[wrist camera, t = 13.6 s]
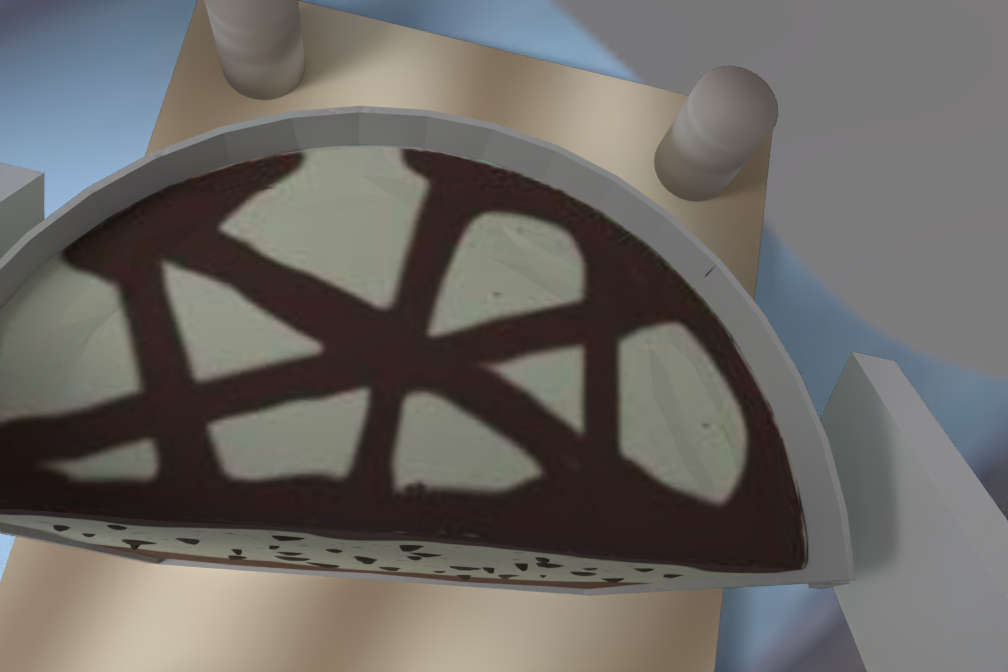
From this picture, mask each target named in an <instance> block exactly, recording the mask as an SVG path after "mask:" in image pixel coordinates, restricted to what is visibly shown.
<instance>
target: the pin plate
mask: <svg viewBox="0 0 1008 672" xmlns="http://www.w3.org/2000/svg"><path fill="white" fill-rule="evenodd" d="M350 106H372V107H389V108H406V109H423V110H431V111H436V112H441V113H446V114H451V115H456V116H461V117H466V118H471V119H476V120H482V121H487V122H492V123H496V124H498V125H501V126H504V127H507V128H510V129H513V130H516V131H519V132H521V133H524V134H527V135H530V136H533V137H536V138H539V139H541V140H544V141H547V142H550V143H553V144H556V145H558V146H560V147H562V148H564V149H566V150H568V151H570V152H572V153H574V154H576V155H578V156H580V157H582V158H584V159H586V160H588V161H589V162H591V163H593V164H595V165H597V166H599V167H601V168H603V169H605V170H607V171H609V172H611V173H613V174H615V175H617V176H618V177H620V178H621V179H623V180H624V181H625V182H627V183H628V184H630V185H631V186H633V187H634V188H635V189H637V190H638V191H640V192H641V193H642V194H644V195H645V196H647V197H648V198H650V199H651V200H652V201H654V202H655V203H657V204H658V205H660V206H661V207H662V208H664V209H665V210H667V211H668V212H669V213H671V214H672V215H673V216H674V217H675V218H677V219H678V220H679V221H680V222H681V223H682V224H683V225H684V226H685V227H686V228H687V229H688V230H689V231H690V232H692V233H693V234H694V235H695V236H696V237H697V238H698V239H699V240H700V241H701V242H702V243H703V244H704V245H705V246H706V247H708V248H709V249H710V250H711V251H712V252H713V253H714V254H715V255H716V256H717V257H718V258H719V259H720V260H721V261H722V262H723V263H724V264H725V265H726V267H727V268H728V269H729V270H730V272H731V273H732V274H733V275H734V277H735V278H736V279H737V280H738V282H739V283H740V284H741V285H742V286H743V288H744V289H745V290H746V291H747V293H748V294H749V295H750V296H751V298H752V299H753V300H754V298H755V288H756V279H757V270H758V261H759V251H760V242H761V233H762V223H763V214H764V205H765V194H766V186H767V176H768V167H769V157H770V148H771V139H772V130H773V128H774V127H775V124H776V122H777V117H778V105H777V101H776V98H775V95H774V93H773V92H772V90H771V89H770V87H769V86H768V84H767V83H766V82H765V81H764V80H762V78H760V77H759V76H758V75H756V74H755V73H753V72H751V71H749V70H747V69H744V68H741V67H735V66H722V67H718V68H715V69H712V70H710V71H708V72H707V73H706V74H704V75H703V76H702V77H701V78H700V79H699V81H698V82H697V84H696V86H695V87H694V89H693V90H692V92H691V94H690V95H684V94H680V93H676V92H672V91H668V90H664V89H660V88H655V87H652V86H648V85H643V84H639V83H635V82H631V81H627V80H623V79H619V78H615V77H611V76H606V75H602V74H598V73H594V72H590V71H586V70H582V69H578V68H574V67H569V66H565V65H561V64H557V63H553V62H549V61H545V60H541V59H537V58H532V57H528V56H524V55H520V54H516V53H512V52H508V51H504V50H500V49H496V48H491V47H487V46H483V45H479V44H475V43H471V42H467V41H463V40H459V39H454V38H450V37H446V36H442V35H438V34H434V33H430V32H426V31H422V30H417V29H413V28H409V27H405V26H401V25H397V24H393V23H389V22H385V21H381V20H376V19H372V18H368V17H364V16H360V15H356V14H352V13H348V12H344V11H339V10H335V9H331V8H327V7H323V6H319V5H315V4H311V3H307V2H302V1H298V0H198V1H197V4H196V7H195V10H194V13H193V16H192V19H191V22H190V25H189V28H188V30H187V33H186V36H185V39H184V42H183V45H182V48H181V51H180V54H179V57H178V60H177V63H176V66H175V69H174V72H173V75H172V78H171V81H170V84H169V86H168V89H167V92H166V95H165V98H164V101H163V104H162V107H161V110H160V113H159V116H158V119H157V122H156V125H155V128H154V131H153V134H152V137H151V140H150V142H149V145H148V148H147V151H146V154H145V156H147V155H148V154H150V153H152V152H155V151H157V150H160V149H163V148H165V147H168V146H171V145H173V144H176V143H179V142H181V141H184V140H187V139H189V138H192V137H195V136H197V135H200V134H203V133H205V132H208V131H211V130H213V129H216V128H219V127H222V126H226V125H231V124H235V123H240V122H244V121H249V120H253V119H258V118H262V117H267V116H271V115H276V114H280V113H285V112H289V111H301V110H313V109H325V108H338V107H350ZM722 596H723V588H718V589H700V590H683V591H665V592H648V593H630V594H612V595H595V596H586V595H573V594H559V593H545V592H531V591H518V590H504V589H490V588H476V587H462V586H449V585H435V584H421V583H407V582H394V581H380V580H366V579H352V578H339V577H325V576H311V575H297V574H284V573H270V572H256V571H242V570H229V569H215V568H201V567H187V566H174V565H160V564H149V563H144V562H139V561H134V560H129V559H124V558H119V557H114V556H109V555H104V554H99V553H95V552H90V551H85V550H80V549H75V548H70V547H65V546H60V545H55V544H50V543H45V542H41V541H36V540H31V539H26V538H21V537H15V540H14V543H13V546H12V549H11V552H10V555H9V558H8V561H7V564H6V567H5V570H4V573H3V576H2V579H1V582H0V672H714V670H715V661H716V652H717V642H718V633H719V624H720V614H721V605H722Z"/></svg>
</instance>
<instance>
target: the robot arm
mask: <svg viewBox="0 0 1008 672" xmlns="http://www.w3.org/2000/svg"><path fill="white" fill-rule="evenodd" d="M43 220H44V172H39V171H35V170H30V169H26V168H21V167H17V166H12V165H8V164H3V163H0V259H1V258H2V257H3V256H4V255H5V254H6V253H7V252H8V251H9V250H10V249H11V248H12V247H13V246H14V245H15V244H16V243H17V242H18V241H19V240H20V239H21V238H22V237H23V236H24V235H25V234H26V233H27V232H28V231H30V230H31V229H32V228H34V227H35V226H37V225H38V224H39V223H41V222H42V221H43ZM820 421H821V423H822V426H823V428H824V430H825V433H826V435H827V438H828V440H829V444H830V448H831V451H832V455H833V459H834V463H835V467H836V470H837V474H838V478H839V482H840V486H841V489H842V493H843V497H844V501H845V504H846V508H847V514H848V522H849V530H850V538H851V546H852V554H853V562H854V570H855V578H856V580H850V584H844V585H839V586H833V589H834V591H835V594H836V596H837V599H838V601H839V604H840V606H841V609H842V611H843V614H844V616H845V618H846V621H847V623H848V626H849V628H850V631H851V633H852V636H853V638H854V641H855V643H856V646H857V648H858V651H859V653H860V656H861V658H862V660H863V663H864V665H865V668H866V670H867V672H1008V521H1007V519H1006V518H1005V516H1004V515H1003V513H1002V512H1001V511H1000V509H999V508H998V506H997V505H996V503H995V502H994V501H993V499H992V498H991V496H990V495H989V494H988V492H987V491H986V489H985V488H984V486H983V485H982V484H981V482H980V481H979V479H978V478H977V476H976V475H975V474H974V472H973V471H972V469H971V468H970V467H969V465H968V464H967V462H966V461H965V459H964V458H963V457H962V455H961V454H960V452H959V451H958V449H957V448H956V447H955V445H954V444H953V442H952V441H951V440H950V438H949V437H948V435H947V434H946V432H945V431H944V430H943V428H942V427H941V425H940V424H939V423H938V421H937V420H936V418H935V417H934V415H933V414H932V413H931V411H930V410H929V408H928V407H927V405H926V404H925V403H924V401H923V400H922V398H921V397H920V396H919V394H918V393H917V391H916V390H915V388H914V387H913V386H912V384H911V383H910V381H909V380H908V378H907V377H906V376H905V374H904V373H903V371H902V370H901V369H900V367H899V366H898V364H897V363H896V361H893V360H888V359H884V358H879V357H875V356H870V355H866V354H861V353H857V352H852V351H851V353H850V356H849V358H848V360H847V362H846V364H845V367H844V369H843V371H842V373H841V375H840V378H839V380H838V382H837V384H836V386H835V388H834V391H833V393H832V395H831V397H830V399H829V402H828V404H827V406H826V408H825V410H824V413H823V415H822V417H821V419H820Z"/></svg>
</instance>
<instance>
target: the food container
mask: <svg viewBox="0 0 1008 672" xmlns="http://www.w3.org/2000/svg"><path fill="white" fill-rule="evenodd" d="M0 533H1V534H6V535H11V536H16V537H21V538H26V539H31V540H36V541H41V542H45V543H50V544H55V545H60V546H65V547H70V548H75V549H80V550H85V551H90V552H95V553H99V554H104V555H109V556H114V557H119V558H124V559H129V560H134V561H139V562H144V563H149V564H160V565H174V566H187V567H201V568H215V569H229V570H242V571H256V572H270V573H284V574H297V575H311V576H325V577H339V578H352V579H366V580H380V581H394V582H407V583H421V584H435V585H449V586H462V587H476V588H490V589H504V590H518V591H531V592H545V593H559V594H573V595H586V596H595V595H612V594H630V593H648V592H665V591H683V590H700V589H718V588H736V587H753V586H771V585H789V584H806V583H809V588H819V589H822V588H828V587H833V586H839V585H844V584H850V580H856V578H855V570H854V562H853V554H852V546H851V538H850V530H849V522H848V514H847V508H846V504H845V501H844V497H843V493H842V489H841V486H840V482H839V478H838V474H837V470H836V467H835V463H834V459H833V455H832V451H831V448H830V444H829V440H828V438H827V435H826V433H825V430H824V428H823V426H822V423H821V421H820V419H819V416H818V414H817V411H816V409H815V407H814V404H813V402H812V400H811V397H810V395H809V393H808V390H807V388H806V385H805V383H804V381H803V378H802V376H801V374H800V372H799V370H798V369H797V367H796V365H795V364H794V362H793V360H792V359H791V357H790V355H789V354H788V352H787V350H786V349H785V347H784V345H783V344H782V342H781V340H780V339H779V337H778V335H777V334H776V332H775V330H774V329H773V327H772V325H771V324H770V322H769V320H768V319H767V317H766V315H765V314H764V312H763V311H762V310H761V309H760V308H759V306H758V305H757V304H756V303H755V301H754V300H753V299H752V298H751V296H750V295H749V294H748V293H747V291H746V290H745V289H744V288H743V286H742V285H741V284H740V283H739V282H738V280H737V279H736V278H735V277H734V275H733V274H732V273H731V272H730V270H729V269H728V268H727V267H726V265H725V264H724V263H723V262H722V261H721V260H720V259H719V258H718V257H717V256H716V255H715V254H714V253H713V252H712V251H711V250H710V249H709V248H708V247H706V246H705V245H704V244H703V243H702V242H701V241H700V240H699V239H698V238H697V237H696V236H695V235H694V234H693V233H692V232H690V231H689V230H688V229H687V228H686V227H685V226H684V225H683V224H682V223H681V222H680V221H679V220H678V219H677V218H675V217H674V216H673V215H672V214H671V213H669V212H668V211H667V210H665V209H664V208H662V207H661V206H660V205H658V204H657V203H655V202H654V201H652V200H651V199H650V198H648V197H647V196H645V195H644V194H642V193H641V192H640V191H638V190H637V189H635V188H634V187H633V186H631V185H630V184H628V183H627V182H625V181H624V180H623V179H621V178H620V177H618V176H617V175H615V174H613V173H611V172H609V171H607V170H605V169H603V168H601V167H599V166H597V165H595V164H593V163H591V162H589V161H588V160H586V159H584V158H582V157H580V156H578V155H576V154H574V153H572V152H570V151H568V150H566V149H564V148H562V147H560V146H558V145H556V144H553V143H550V142H547V141H544V140H541V139H539V138H536V137H533V136H530V135H527V134H524V133H521V132H519V131H516V130H513V129H510V128H507V127H504V126H501V125H498V124H496V123H492V122H487V121H482V120H476V119H471V118H466V117H461V116H456V115H451V114H446V113H441V112H436V111H431V110H423V109H406V108H389V107H372V106H350V107H338V108H325V109H313V110H301V111H289V112H285V113H280V114H276V115H271V116H267V117H262V118H258V119H253V120H249V121H244V122H240V123H235V124H231V125H226V126H222V127H219V128H216V129H213V130H211V131H208V132H205V133H203V134H200V135H197V136H195V137H192V138H189V139H187V140H184V141H181V142H179V143H176V144H173V145H171V146H168V147H165V148H163V149H160V150H157V151H155V152H152V153H150V154H148V155H147V156H145V157H143V158H141V159H139V160H137V161H136V162H134V163H132V164H130V165H128V166H126V167H125V168H123V169H121V170H119V171H117V172H115V173H113V174H112V175H110V176H108V177H106V178H104V179H102V180H101V181H99V182H97V183H95V184H93V185H91V186H90V187H88V188H86V189H85V190H83V191H82V192H81V193H79V194H78V195H77V196H75V197H74V198H73V199H71V200H70V201H69V202H67V203H66V204H65V205H63V206H62V207H61V208H59V209H58V210H57V211H55V212H54V213H53V214H51V215H50V216H49V217H47V218H46V219H45V220H43V221H42V222H41V223H39V224H38V225H37V226H35V227H34V228H32V229H31V230H30V231H28V232H27V233H26V234H25V235H24V236H23V237H22V238H21V239H20V240H19V241H18V242H17V243H16V244H15V245H14V246H13V247H12V248H11V249H10V250H9V251H8V252H7V253H6V254H5V255H4V256H3V257H2V258H1V259H0Z"/></svg>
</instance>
